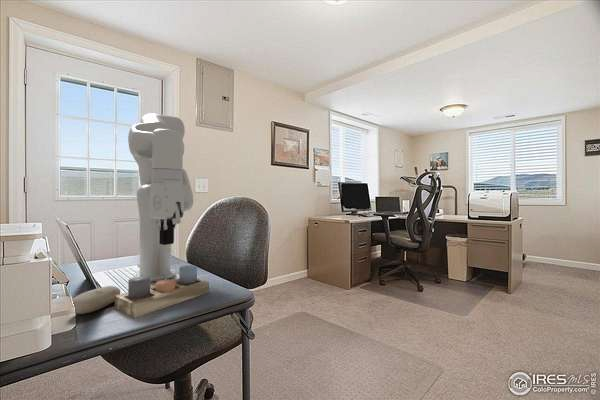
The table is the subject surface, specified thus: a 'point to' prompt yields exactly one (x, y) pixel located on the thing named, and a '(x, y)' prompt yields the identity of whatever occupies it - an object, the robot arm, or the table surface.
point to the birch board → (160, 298)
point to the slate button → (188, 274)
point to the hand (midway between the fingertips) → (166, 243)
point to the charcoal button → (139, 287)
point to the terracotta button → (165, 286)
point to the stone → (95, 299)
